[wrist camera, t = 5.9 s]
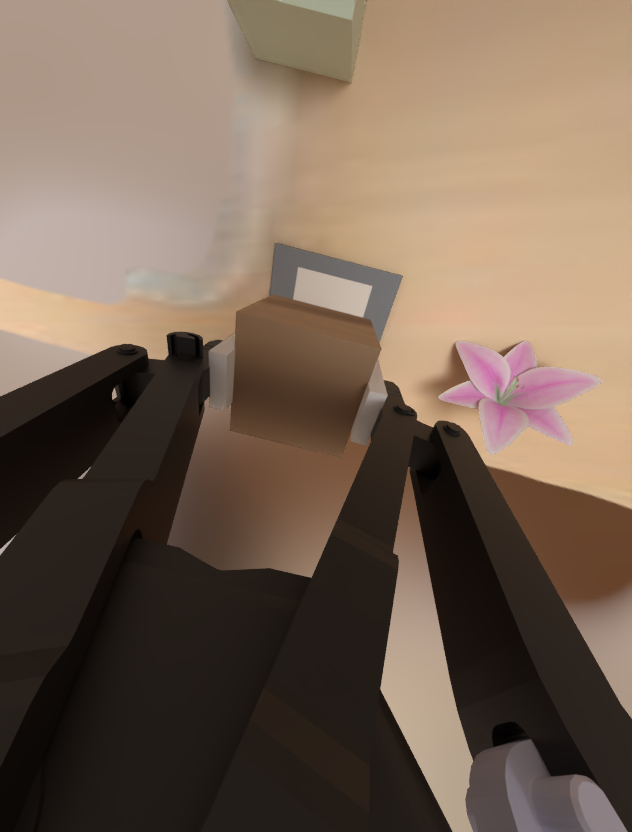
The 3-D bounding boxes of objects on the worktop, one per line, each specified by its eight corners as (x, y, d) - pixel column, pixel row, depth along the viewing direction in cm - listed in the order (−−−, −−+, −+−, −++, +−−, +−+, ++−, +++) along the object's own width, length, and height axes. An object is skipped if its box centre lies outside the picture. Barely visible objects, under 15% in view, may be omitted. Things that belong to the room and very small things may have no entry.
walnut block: (273, 294, 15) (236, 311, 10) (370, 319, 16) (381, 348, 10) (262, 383, 19) (230, 430, 13) (343, 403, 19) (341, 457, 14)
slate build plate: (276, 243, 24) (275, 242, 23) (401, 275, 24) (402, 276, 24) (265, 346, 29) (263, 348, 29) (367, 372, 30) (367, 374, 29)
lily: (568, 367, 28) (658, 349, 19) (512, 462, 30) (568, 489, 21) (457, 328, 31) (488, 296, 21) (412, 417, 32) (422, 424, 23)
